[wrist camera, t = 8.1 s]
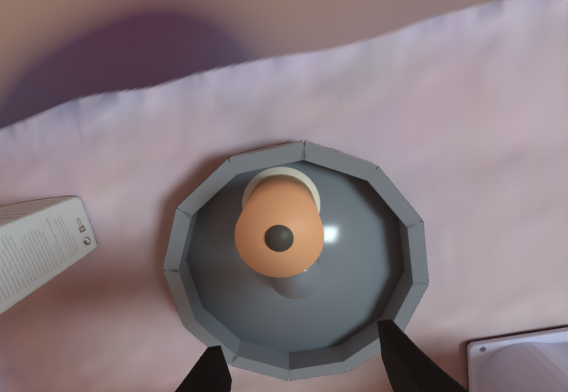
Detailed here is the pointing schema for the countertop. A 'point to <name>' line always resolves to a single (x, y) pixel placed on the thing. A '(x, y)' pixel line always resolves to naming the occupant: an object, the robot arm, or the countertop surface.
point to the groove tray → (308, 284)
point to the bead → (280, 227)
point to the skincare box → (40, 244)
